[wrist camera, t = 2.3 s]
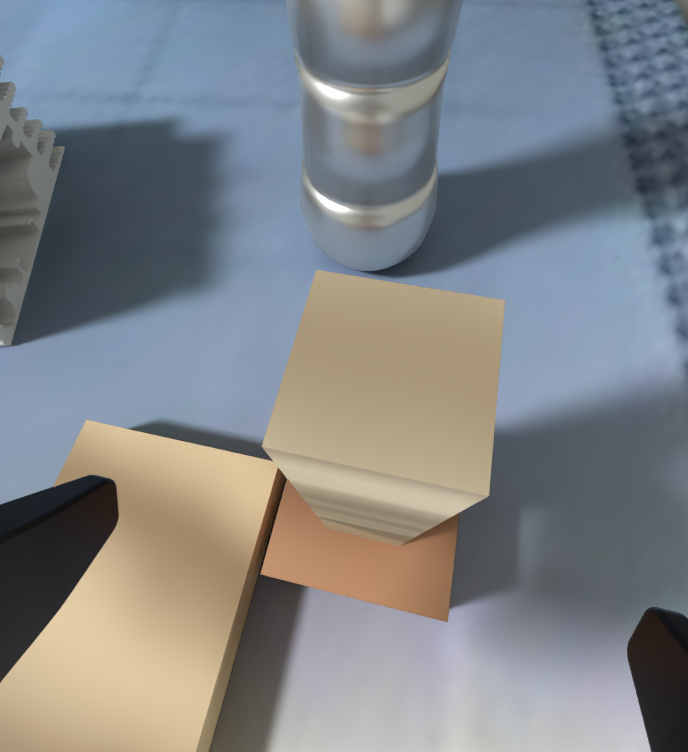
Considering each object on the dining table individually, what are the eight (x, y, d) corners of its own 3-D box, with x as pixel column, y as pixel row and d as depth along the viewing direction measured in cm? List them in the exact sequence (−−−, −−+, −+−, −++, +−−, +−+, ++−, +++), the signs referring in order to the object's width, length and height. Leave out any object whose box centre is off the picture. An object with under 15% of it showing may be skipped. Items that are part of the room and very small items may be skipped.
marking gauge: (434, 613, 15) (702, 776, 3) (274, 573, 16) (26, 588, 4) (453, 452, 18) (650, 213, 6) (314, 424, 18) (231, 157, 6)
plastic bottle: (414, 185, 24) (587, -1027, 6) (441, 281, 21) (950, -1501, 3) (301, 199, 24) (113, -1002, 6) (313, 298, 21) (13, -1472, 3)
